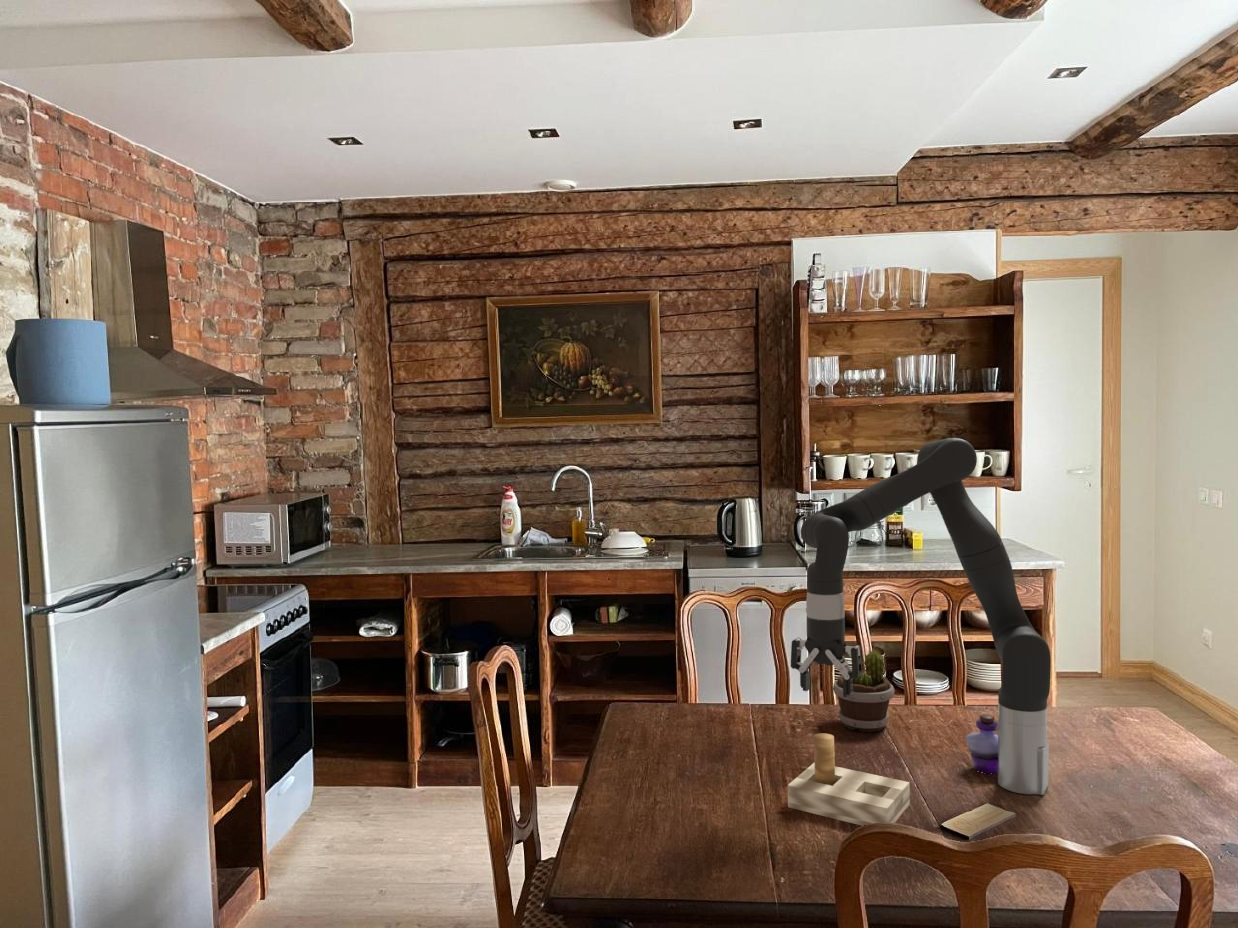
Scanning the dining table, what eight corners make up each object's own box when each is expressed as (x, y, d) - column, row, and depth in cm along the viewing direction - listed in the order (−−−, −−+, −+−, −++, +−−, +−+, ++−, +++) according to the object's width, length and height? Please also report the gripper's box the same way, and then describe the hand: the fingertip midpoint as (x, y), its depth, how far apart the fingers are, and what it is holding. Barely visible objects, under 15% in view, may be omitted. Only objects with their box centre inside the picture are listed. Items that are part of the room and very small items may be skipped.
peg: (838, 792, 183) (837, 735, 182) (831, 800, 180) (829, 741, 179) (819, 788, 185) (818, 731, 184) (812, 795, 182) (810, 738, 181)
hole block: (909, 804, 180) (909, 782, 180) (887, 831, 168) (887, 808, 168) (814, 782, 191) (814, 761, 191) (787, 806, 180) (787, 784, 179)
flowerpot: (853, 739, 216) (853, 657, 214) (822, 718, 230) (822, 641, 229) (906, 732, 219) (906, 651, 218) (873, 712, 234) (872, 637, 233)
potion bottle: (1010, 779, 191) (1010, 724, 190) (966, 775, 193) (966, 720, 193) (1006, 764, 199) (1006, 711, 198) (964, 760, 202) (965, 707, 201)
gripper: (866, 614, 180) (867, 693, 181) (799, 606, 188) (800, 683, 189) (853, 621, 173) (854, 704, 174) (784, 613, 182) (785, 692, 182)
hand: (826, 693), depth 182 cm, fingers open, 8 cm apart
